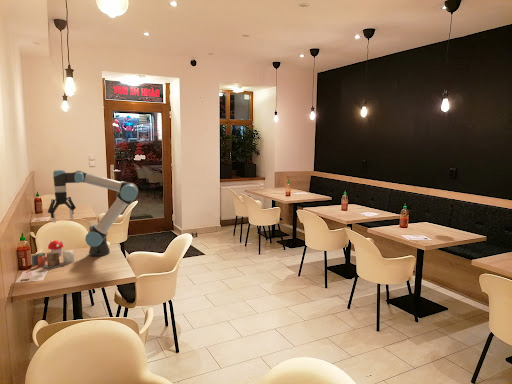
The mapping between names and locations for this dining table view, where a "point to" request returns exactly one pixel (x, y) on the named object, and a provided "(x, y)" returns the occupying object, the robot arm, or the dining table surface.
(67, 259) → the beige rounded block
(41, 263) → the sauce shaker
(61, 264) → the slate coaster
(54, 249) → the mushroom
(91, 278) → the dining table surface
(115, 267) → the dining table surface
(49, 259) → the walnut block
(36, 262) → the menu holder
